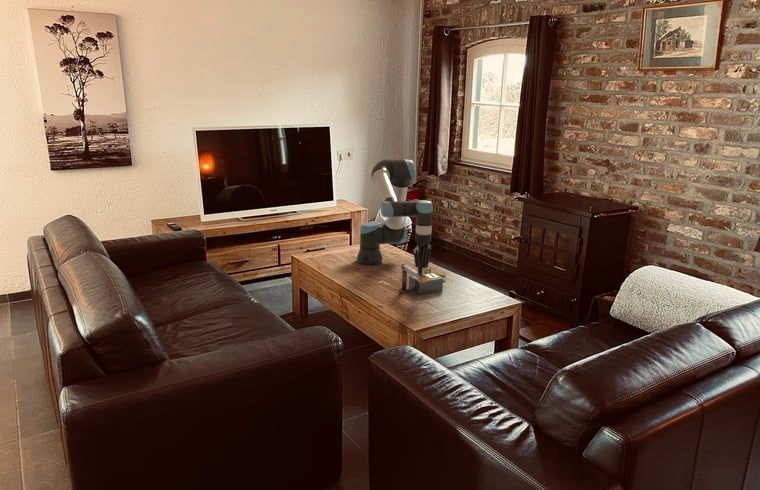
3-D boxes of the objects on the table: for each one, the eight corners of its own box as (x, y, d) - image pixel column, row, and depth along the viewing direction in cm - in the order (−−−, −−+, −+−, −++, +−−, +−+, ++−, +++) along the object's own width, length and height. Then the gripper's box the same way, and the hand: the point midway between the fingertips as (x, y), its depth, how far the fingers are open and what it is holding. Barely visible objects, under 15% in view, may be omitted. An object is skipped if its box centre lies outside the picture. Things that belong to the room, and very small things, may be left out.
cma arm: (406, 267, 294) (406, 263, 293) (427, 281, 274) (428, 276, 273) (399, 268, 292) (400, 263, 292) (421, 282, 272) (421, 277, 272)
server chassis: (408, 289, 298) (409, 275, 296) (431, 285, 305) (432, 271, 302) (418, 295, 290) (419, 281, 288) (442, 291, 296) (443, 277, 294)
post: (397, 290, 296) (397, 269, 293) (405, 289, 298) (406, 268, 295) (402, 293, 291) (402, 272, 288) (410, 292, 294) (411, 271, 291)
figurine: (445, 281, 310) (427, 260, 308) (431, 291, 312) (413, 270, 310) (446, 274, 321) (428, 253, 320) (433, 284, 324) (415, 263, 322)
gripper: (425, 229, 284) (423, 275, 290) (408, 234, 274) (406, 281, 281) (437, 232, 279) (435, 278, 286) (421, 237, 270) (419, 285, 276)
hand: (421, 280), depth 283 cm, fingers closed
